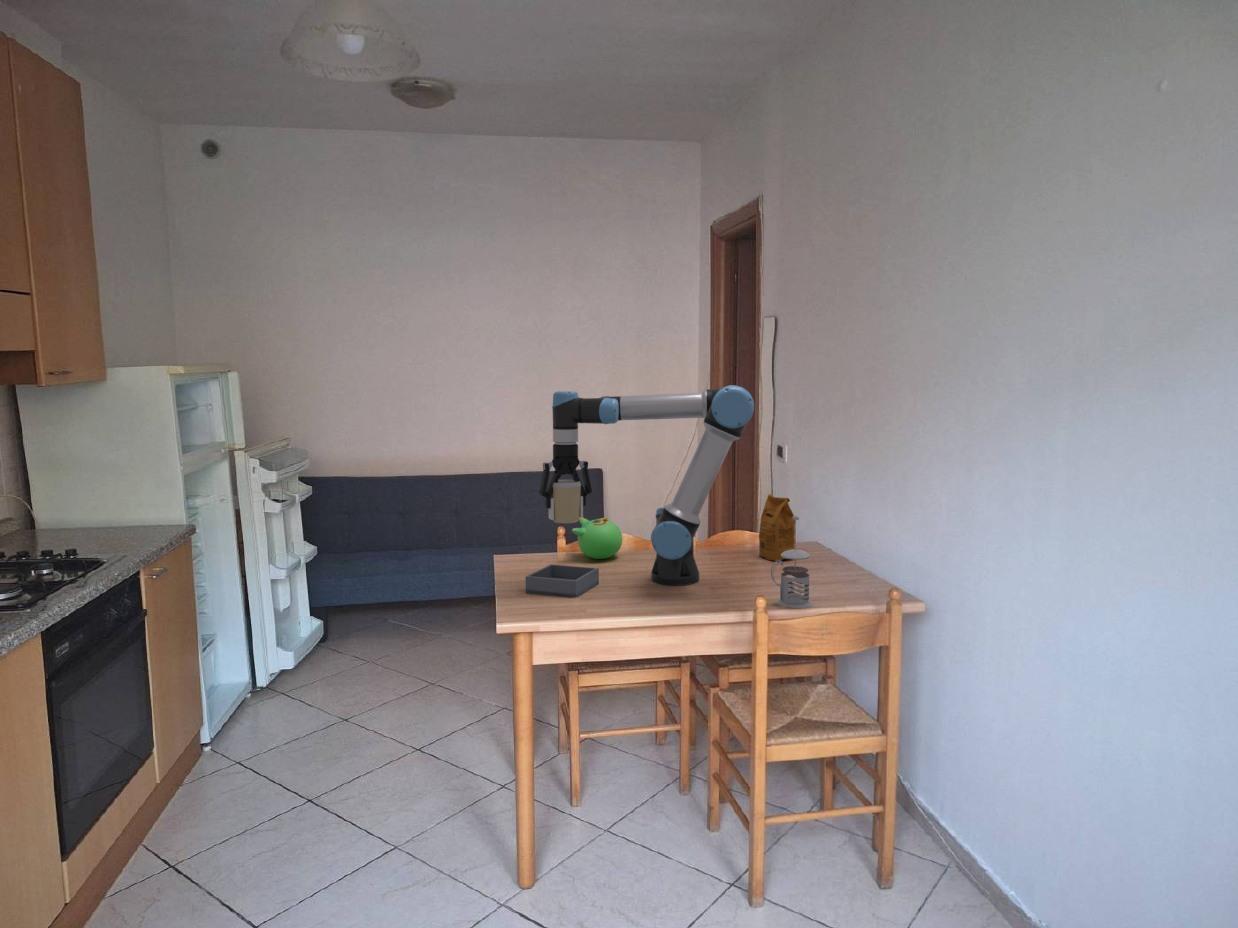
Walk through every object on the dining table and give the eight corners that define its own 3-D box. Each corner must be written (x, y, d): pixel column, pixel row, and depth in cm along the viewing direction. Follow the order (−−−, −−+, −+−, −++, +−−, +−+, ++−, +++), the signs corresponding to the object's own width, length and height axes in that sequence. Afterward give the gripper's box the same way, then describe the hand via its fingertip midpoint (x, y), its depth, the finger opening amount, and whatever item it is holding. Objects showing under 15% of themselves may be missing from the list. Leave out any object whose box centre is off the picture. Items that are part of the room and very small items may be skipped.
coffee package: (778, 552, 290) (778, 492, 287) (798, 560, 278) (799, 497, 276) (754, 555, 286) (754, 494, 284) (773, 562, 275) (774, 499, 272)
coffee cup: (576, 517, 249) (576, 478, 248) (585, 522, 240) (585, 482, 239) (547, 519, 246) (546, 480, 245) (554, 524, 237) (554, 484, 236)
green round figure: (620, 563, 276) (620, 521, 275) (572, 563, 278) (571, 521, 276) (624, 552, 294) (623, 512, 293) (578, 552, 295) (577, 512, 294)
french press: (817, 607, 222) (818, 517, 220) (776, 608, 222) (776, 519, 219) (806, 597, 232) (807, 511, 229) (766, 598, 231) (767, 512, 229)
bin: (598, 583, 250) (598, 568, 250) (576, 597, 235) (575, 581, 235) (551, 579, 257) (550, 564, 256) (525, 592, 241) (525, 576, 241)
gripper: (594, 441, 248) (594, 513, 251) (527, 443, 240) (528, 518, 242) (603, 443, 241) (603, 517, 244) (534, 445, 233) (535, 522, 235)
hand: (565, 517), depth 243 cm, fingers closed on coffee cup, 9 cm apart
